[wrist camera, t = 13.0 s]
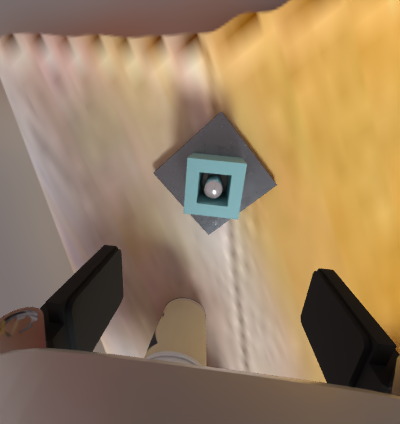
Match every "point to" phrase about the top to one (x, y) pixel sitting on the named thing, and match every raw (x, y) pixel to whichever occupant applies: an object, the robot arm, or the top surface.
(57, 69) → the top surface
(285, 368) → the top surface
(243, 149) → the shaft stand
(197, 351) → the coffee cup
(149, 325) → the top surface
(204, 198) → the collar
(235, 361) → the top surface
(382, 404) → the robot arm
